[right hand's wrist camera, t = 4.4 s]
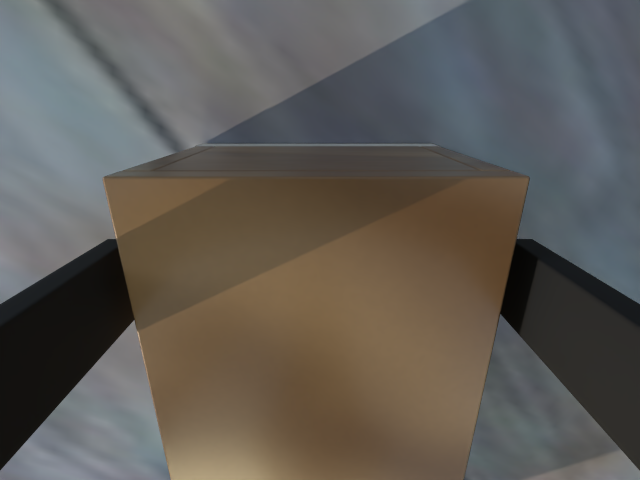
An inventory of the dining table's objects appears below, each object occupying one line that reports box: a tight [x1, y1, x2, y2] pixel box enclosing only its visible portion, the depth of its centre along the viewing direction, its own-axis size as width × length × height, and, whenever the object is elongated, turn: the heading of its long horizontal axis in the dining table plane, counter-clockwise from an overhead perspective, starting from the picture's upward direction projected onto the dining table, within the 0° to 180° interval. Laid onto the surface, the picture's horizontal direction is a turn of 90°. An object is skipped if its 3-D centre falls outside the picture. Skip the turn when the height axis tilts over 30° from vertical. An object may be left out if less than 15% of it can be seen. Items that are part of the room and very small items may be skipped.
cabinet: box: [103, 144, 530, 480], centre depth 16 cm, size 20×11×8 cm, turn 0°
